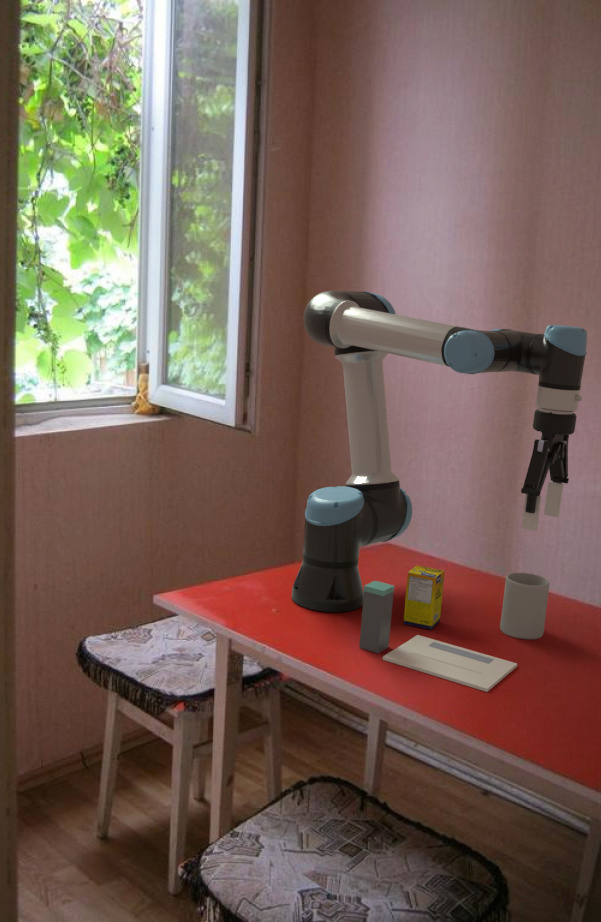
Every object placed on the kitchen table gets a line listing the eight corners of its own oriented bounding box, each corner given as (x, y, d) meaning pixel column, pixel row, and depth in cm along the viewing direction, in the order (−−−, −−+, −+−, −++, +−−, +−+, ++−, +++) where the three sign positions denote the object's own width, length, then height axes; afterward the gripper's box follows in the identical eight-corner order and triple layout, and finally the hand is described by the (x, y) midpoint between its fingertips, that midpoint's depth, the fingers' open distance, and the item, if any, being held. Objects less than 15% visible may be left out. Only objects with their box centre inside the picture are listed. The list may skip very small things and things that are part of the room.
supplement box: (440, 621, 192) (445, 569, 190) (431, 630, 187) (436, 577, 185) (412, 615, 195) (417, 564, 193) (402, 624, 189) (407, 571, 187)
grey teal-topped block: (358, 647, 176) (364, 585, 174) (369, 641, 179) (375, 580, 177) (378, 653, 174) (383, 591, 172) (388, 647, 177) (394, 585, 175)
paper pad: (382, 659, 171) (382, 656, 171) (417, 637, 183) (417, 634, 183) (487, 692, 161) (487, 688, 161) (516, 666, 172) (517, 663, 172)
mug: (551, 639, 187) (557, 585, 185) (511, 640, 185) (517, 586, 183) (523, 617, 198) (529, 566, 196) (485, 617, 196) (491, 566, 194)
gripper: (556, 420, 162) (539, 540, 166) (594, 407, 183) (578, 514, 188) (513, 413, 166) (498, 531, 170) (555, 401, 187) (541, 506, 191)
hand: (540, 522), depth 179 cm, fingers open, 13 cm apart
